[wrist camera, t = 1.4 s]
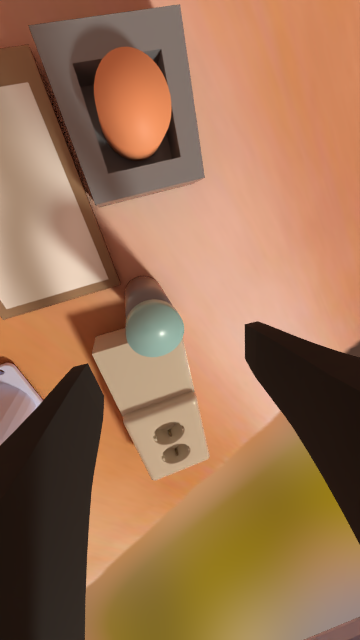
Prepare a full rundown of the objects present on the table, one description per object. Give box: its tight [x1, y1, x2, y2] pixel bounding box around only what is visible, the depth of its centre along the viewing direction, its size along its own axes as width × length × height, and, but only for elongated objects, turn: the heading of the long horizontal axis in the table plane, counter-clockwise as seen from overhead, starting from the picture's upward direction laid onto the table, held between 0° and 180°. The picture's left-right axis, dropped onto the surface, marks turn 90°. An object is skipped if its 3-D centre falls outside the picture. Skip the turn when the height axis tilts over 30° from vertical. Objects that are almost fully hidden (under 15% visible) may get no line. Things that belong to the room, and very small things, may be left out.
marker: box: [125, 276, 184, 357], centre depth 15 cm, size 3×3×7 cm
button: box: [94, 47, 172, 161], centre depth 11 cm, size 4×4×2 cm
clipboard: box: [0, 45, 121, 320], centre depth 13 cm, size 9×13×1 cm
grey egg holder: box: [28, 5, 205, 207], centre depth 12 cm, size 7×7×2 cm
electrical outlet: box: [92, 328, 209, 480], centre depth 22 cm, size 7×4×18 cm
